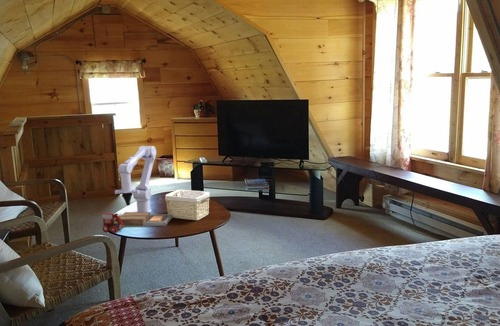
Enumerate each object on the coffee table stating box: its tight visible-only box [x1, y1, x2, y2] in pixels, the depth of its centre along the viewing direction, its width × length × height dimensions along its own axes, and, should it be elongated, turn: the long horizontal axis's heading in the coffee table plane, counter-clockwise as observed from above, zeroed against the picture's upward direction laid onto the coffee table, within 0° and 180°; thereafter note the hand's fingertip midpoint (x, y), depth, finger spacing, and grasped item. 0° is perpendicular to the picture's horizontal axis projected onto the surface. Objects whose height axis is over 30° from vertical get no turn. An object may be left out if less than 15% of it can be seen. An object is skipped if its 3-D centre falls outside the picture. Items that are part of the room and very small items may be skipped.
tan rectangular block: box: [149, 216, 164, 222], centre depth 260 cm, size 9×6×2 cm, turn 175°
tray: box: [143, 213, 173, 227], centre depth 260 cm, size 15×13×2 cm
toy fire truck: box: [101, 212, 124, 234], centre depth 247 cm, size 7×12×10 cm, turn 75°
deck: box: [119, 211, 151, 227], centre depth 262 cm, size 14×16×4 cm
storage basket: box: [164, 188, 211, 221], centre depth 270 cm, size 24×16×15 cm
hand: (128, 205), depth 263 cm, fingers closed
